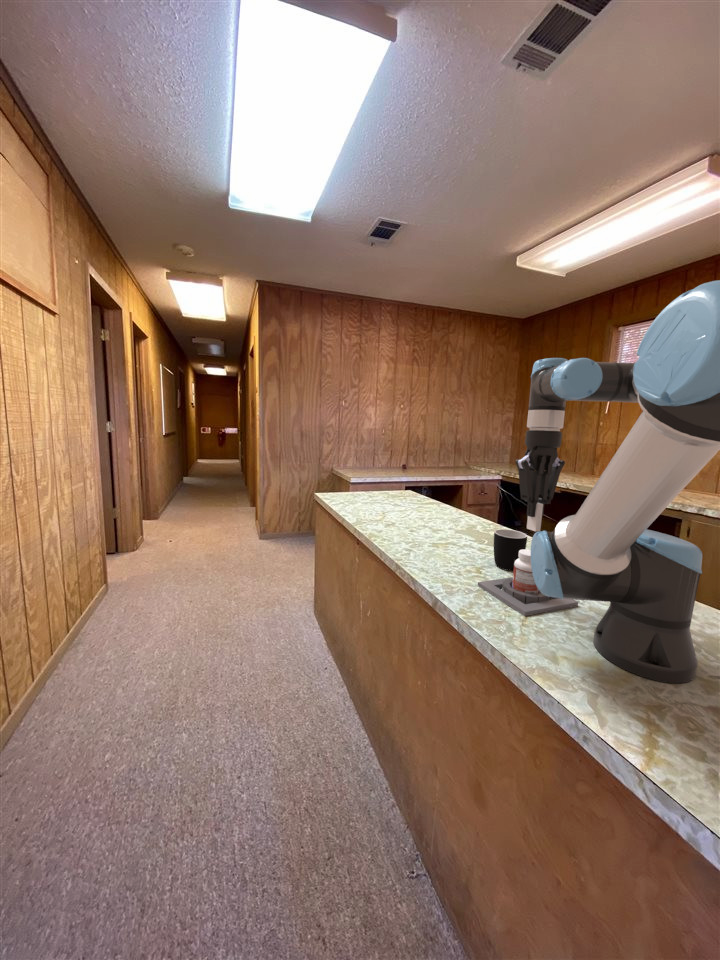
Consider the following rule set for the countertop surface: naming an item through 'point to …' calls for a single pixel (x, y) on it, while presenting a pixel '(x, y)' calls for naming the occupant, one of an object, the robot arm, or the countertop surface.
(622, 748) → the countertop surface
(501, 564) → the mug
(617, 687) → the countertop surface
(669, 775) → the countertop surface
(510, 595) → the grey plate with hole
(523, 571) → the pill bottle
